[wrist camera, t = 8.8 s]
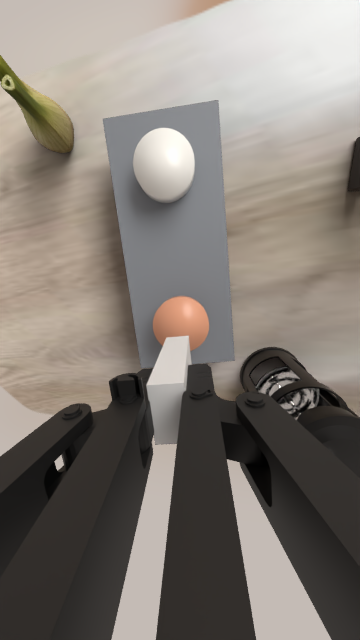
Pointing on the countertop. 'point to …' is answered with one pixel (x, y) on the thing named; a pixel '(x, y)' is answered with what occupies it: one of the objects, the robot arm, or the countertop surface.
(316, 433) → the french press
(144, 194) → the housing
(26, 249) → the countertop surface
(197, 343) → the orange ball knob
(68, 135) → the fennel bulb
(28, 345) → the countertop surface
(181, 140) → the white rounded knob
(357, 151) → the phone stand
